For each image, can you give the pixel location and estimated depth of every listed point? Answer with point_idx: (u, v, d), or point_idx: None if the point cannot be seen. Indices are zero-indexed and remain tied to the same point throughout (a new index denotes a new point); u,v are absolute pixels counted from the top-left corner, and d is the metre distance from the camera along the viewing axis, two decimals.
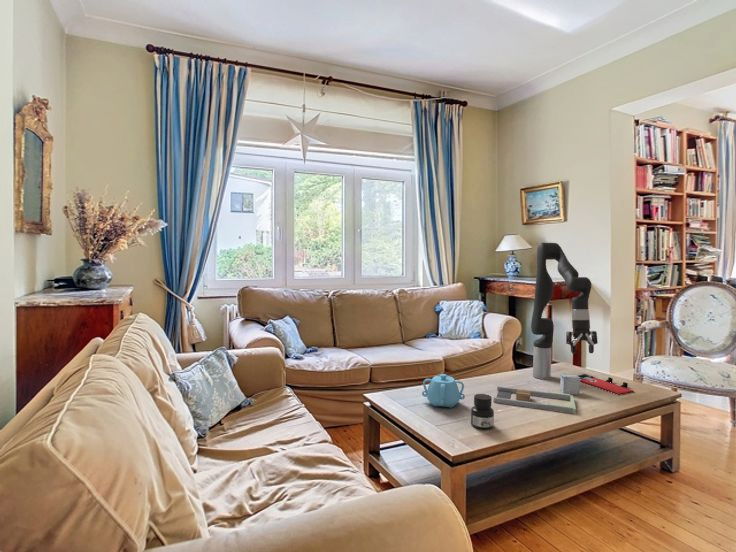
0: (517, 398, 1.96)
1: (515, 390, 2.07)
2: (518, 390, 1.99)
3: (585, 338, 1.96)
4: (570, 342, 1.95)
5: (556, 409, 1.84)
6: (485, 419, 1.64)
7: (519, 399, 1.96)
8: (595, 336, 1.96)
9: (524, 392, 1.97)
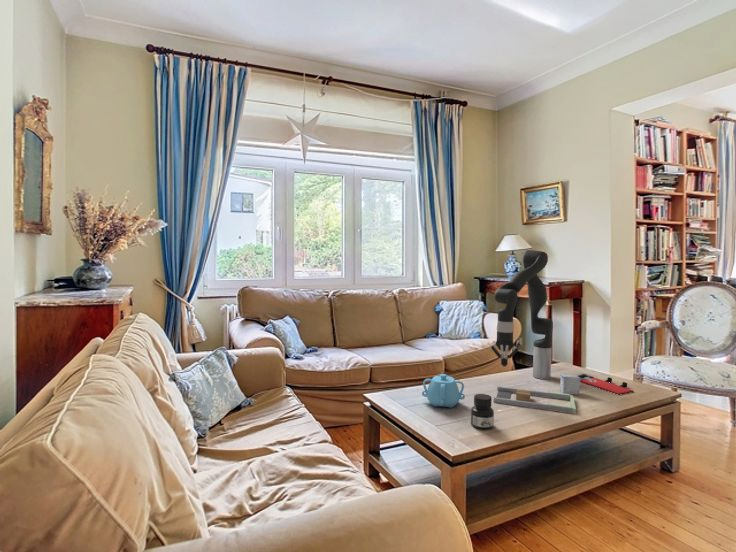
0: (517, 398, 1.96)
1: (515, 390, 2.07)
2: (518, 390, 1.99)
3: (504, 348, 1.99)
4: (498, 355, 2.00)
5: (556, 409, 1.84)
6: (485, 419, 1.64)
7: (519, 399, 1.96)
8: (513, 352, 1.97)
9: (524, 392, 1.97)
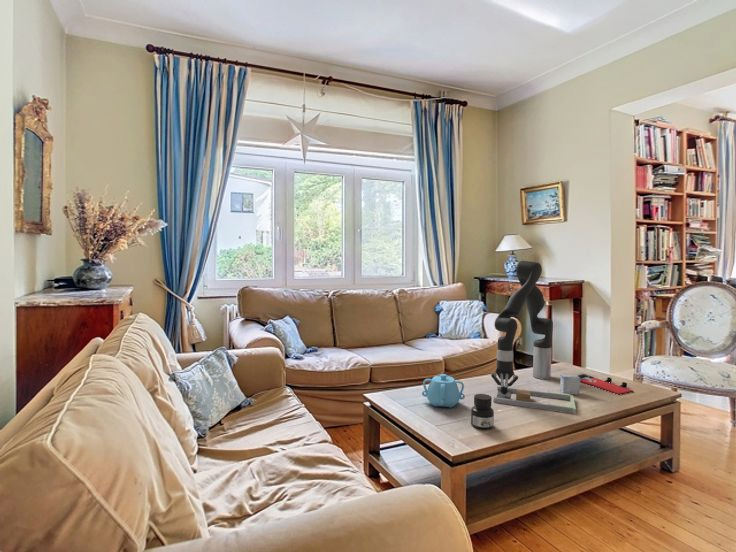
0: (517, 398, 1.96)
1: (515, 390, 2.07)
2: (518, 390, 1.99)
3: (504, 376, 2.00)
4: (498, 383, 2.01)
5: (556, 409, 1.84)
6: (485, 419, 1.64)
7: (519, 399, 1.96)
8: (513, 380, 1.98)
9: (524, 392, 1.97)
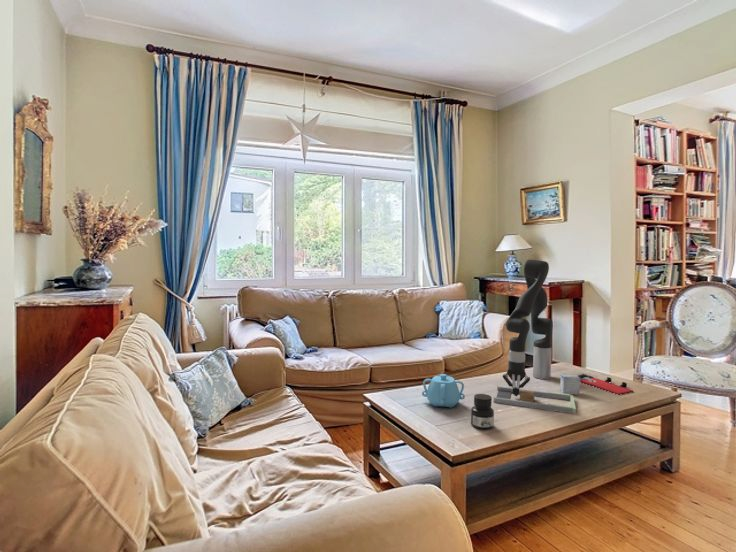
0: (521, 398, 1.95)
1: None
2: (522, 390, 1.99)
3: (515, 378, 1.97)
4: (510, 384, 1.99)
5: (556, 409, 1.84)
6: (485, 419, 1.64)
7: (523, 399, 1.95)
8: (525, 382, 1.96)
9: (528, 392, 1.96)
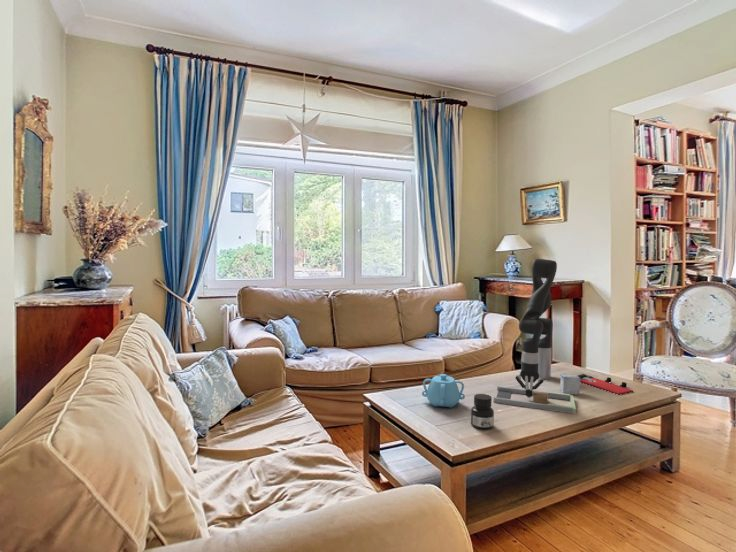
0: (534, 400, 1.93)
1: (515, 390, 2.07)
2: (535, 392, 1.96)
3: (529, 379, 1.95)
4: (523, 386, 1.96)
5: (556, 409, 1.84)
6: (485, 419, 1.64)
7: (536, 401, 1.93)
8: (539, 383, 1.93)
9: (541, 394, 1.94)
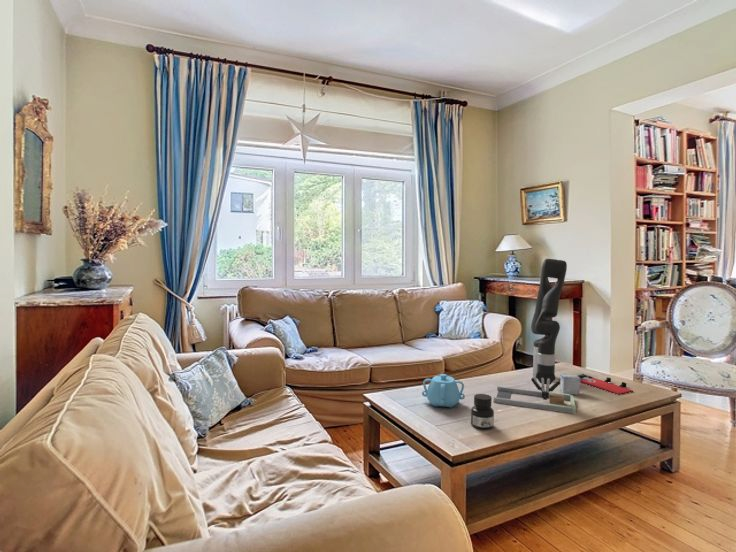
0: (550, 403, 1.90)
1: (515, 390, 2.07)
2: (551, 394, 1.94)
3: (545, 381, 1.92)
4: (539, 388, 1.93)
5: (556, 409, 1.84)
6: (485, 419, 1.64)
7: None
8: (555, 385, 1.91)
9: (558, 397, 1.91)
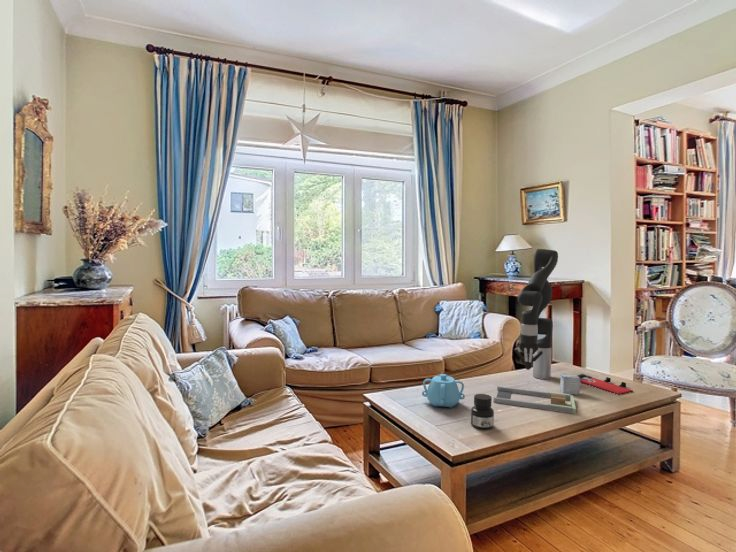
0: (552, 403, 1.90)
1: (515, 390, 2.07)
2: (552, 394, 1.93)
3: (528, 351, 1.95)
4: (522, 358, 1.96)
5: (556, 409, 1.84)
6: (485, 419, 1.64)
7: None
8: (538, 355, 1.93)
9: (559, 397, 1.91)
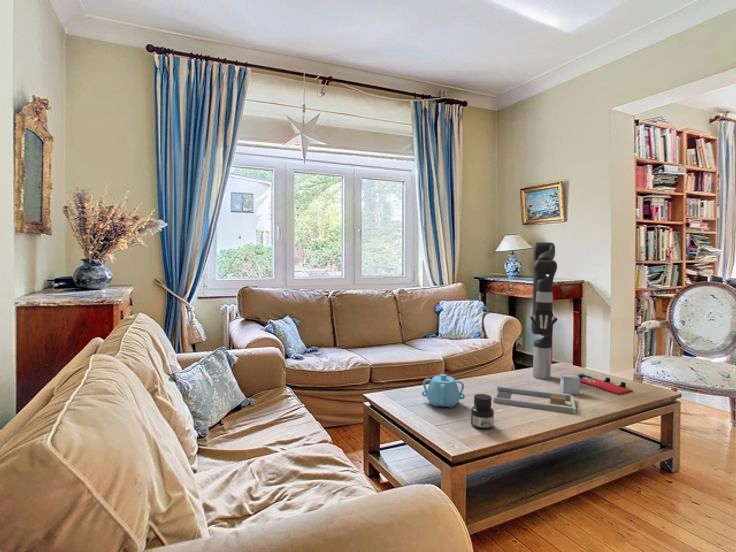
0: (551, 403, 1.90)
1: (515, 390, 2.07)
2: (552, 394, 1.94)
3: (543, 318, 2.02)
4: (537, 325, 2.03)
5: (556, 409, 1.84)
6: (485, 419, 1.64)
7: None
8: (553, 322, 2.01)
9: (559, 397, 1.91)
